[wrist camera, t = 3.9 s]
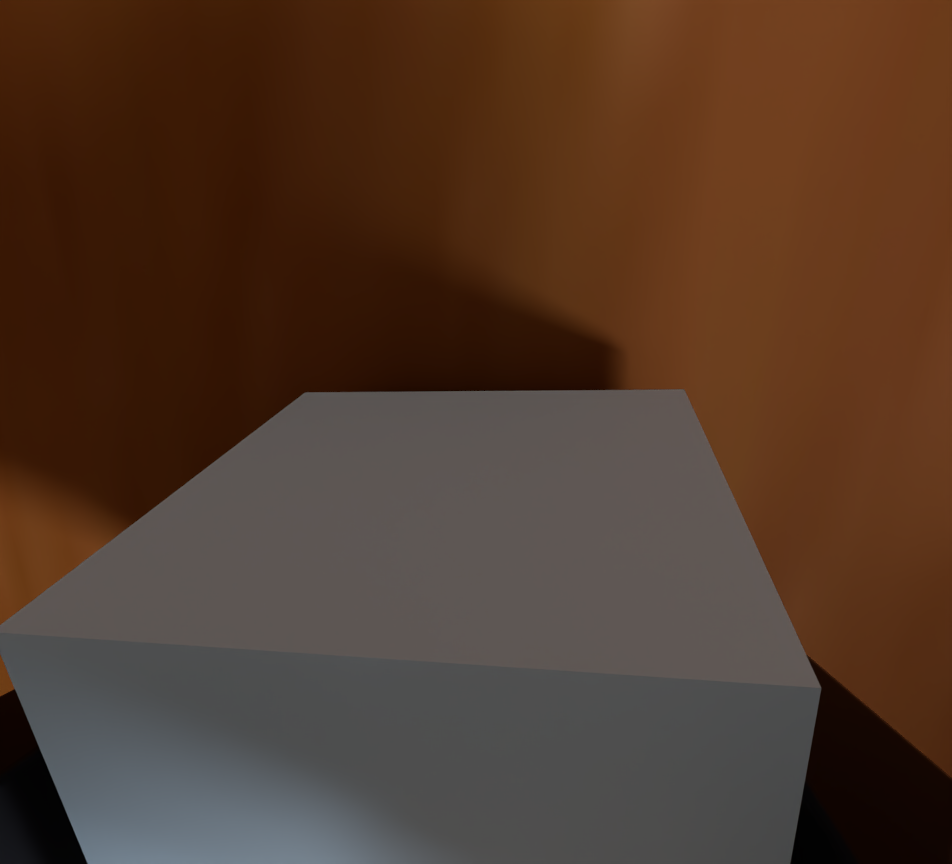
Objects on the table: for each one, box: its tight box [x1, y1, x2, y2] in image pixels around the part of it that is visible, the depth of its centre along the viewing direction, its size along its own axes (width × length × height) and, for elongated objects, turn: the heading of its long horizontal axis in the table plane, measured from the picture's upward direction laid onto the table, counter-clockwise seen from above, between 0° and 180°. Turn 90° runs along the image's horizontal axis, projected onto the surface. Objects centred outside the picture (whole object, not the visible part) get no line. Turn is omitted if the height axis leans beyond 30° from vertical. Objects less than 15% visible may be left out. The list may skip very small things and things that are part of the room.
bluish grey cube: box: [0, 389, 821, 864], centre depth 7 cm, size 5×5×5 cm
